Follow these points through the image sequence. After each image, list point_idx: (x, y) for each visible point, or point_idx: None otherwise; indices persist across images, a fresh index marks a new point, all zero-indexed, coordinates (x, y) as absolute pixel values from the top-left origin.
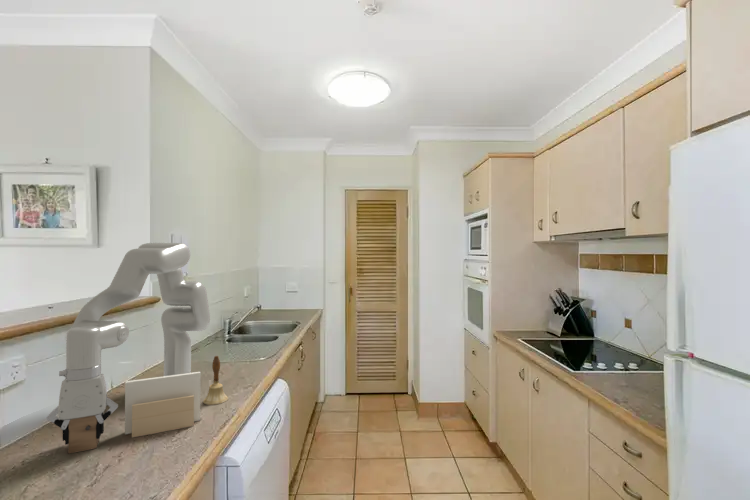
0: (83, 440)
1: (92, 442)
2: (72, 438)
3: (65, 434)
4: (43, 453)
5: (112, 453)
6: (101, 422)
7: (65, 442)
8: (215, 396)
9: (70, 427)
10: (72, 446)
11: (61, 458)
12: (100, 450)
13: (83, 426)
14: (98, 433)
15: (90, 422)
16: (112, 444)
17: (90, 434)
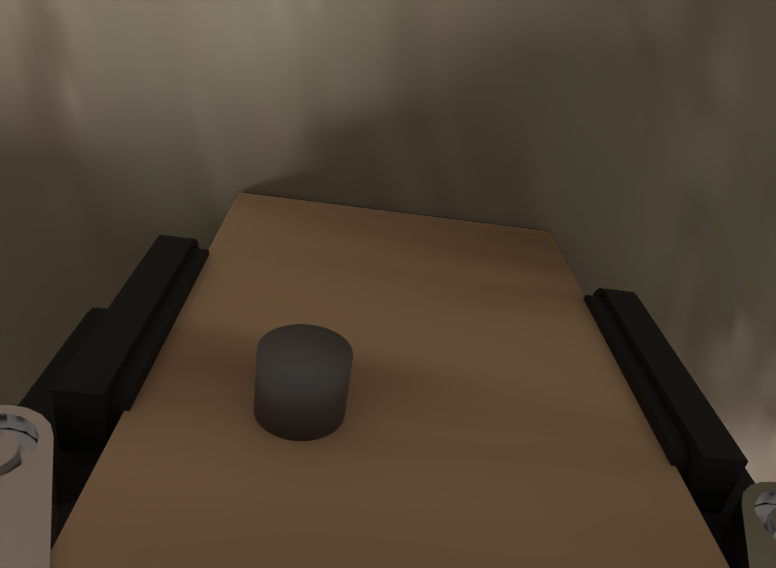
0: (388, 277)
1: (270, 234)
2: (552, 332)
3: (697, 392)
4: (764, 395)
5: None
6: (2, 432)
7: (638, 305)
8: None
9: (657, 493)
10: (523, 265)
11: (632, 137)
12: (175, 85)
13: (393, 445)
14: (144, 273)
15: (234, 484)
16: (48, 194)
17: (279, 307)
